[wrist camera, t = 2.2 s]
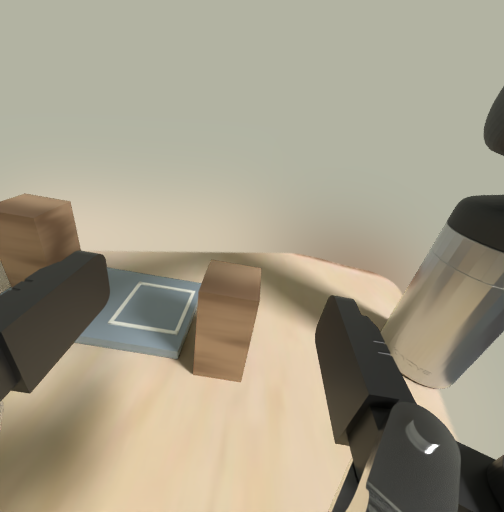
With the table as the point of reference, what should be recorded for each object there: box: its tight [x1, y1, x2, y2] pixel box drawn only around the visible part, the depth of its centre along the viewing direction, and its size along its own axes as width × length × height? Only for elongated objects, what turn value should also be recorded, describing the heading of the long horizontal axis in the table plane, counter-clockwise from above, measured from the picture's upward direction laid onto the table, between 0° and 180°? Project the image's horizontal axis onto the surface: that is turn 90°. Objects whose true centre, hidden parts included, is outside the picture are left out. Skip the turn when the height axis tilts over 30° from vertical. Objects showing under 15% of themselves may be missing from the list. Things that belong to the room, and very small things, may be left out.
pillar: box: [193, 260, 261, 382], centre depth 25 cm, size 5×5×11 cm
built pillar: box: [0, 194, 81, 287], centre depth 28 cm, size 5×5×11 cm
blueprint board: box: [0, 268, 202, 359], centre depth 31 cm, size 12×22×1 cm, turn 86°
